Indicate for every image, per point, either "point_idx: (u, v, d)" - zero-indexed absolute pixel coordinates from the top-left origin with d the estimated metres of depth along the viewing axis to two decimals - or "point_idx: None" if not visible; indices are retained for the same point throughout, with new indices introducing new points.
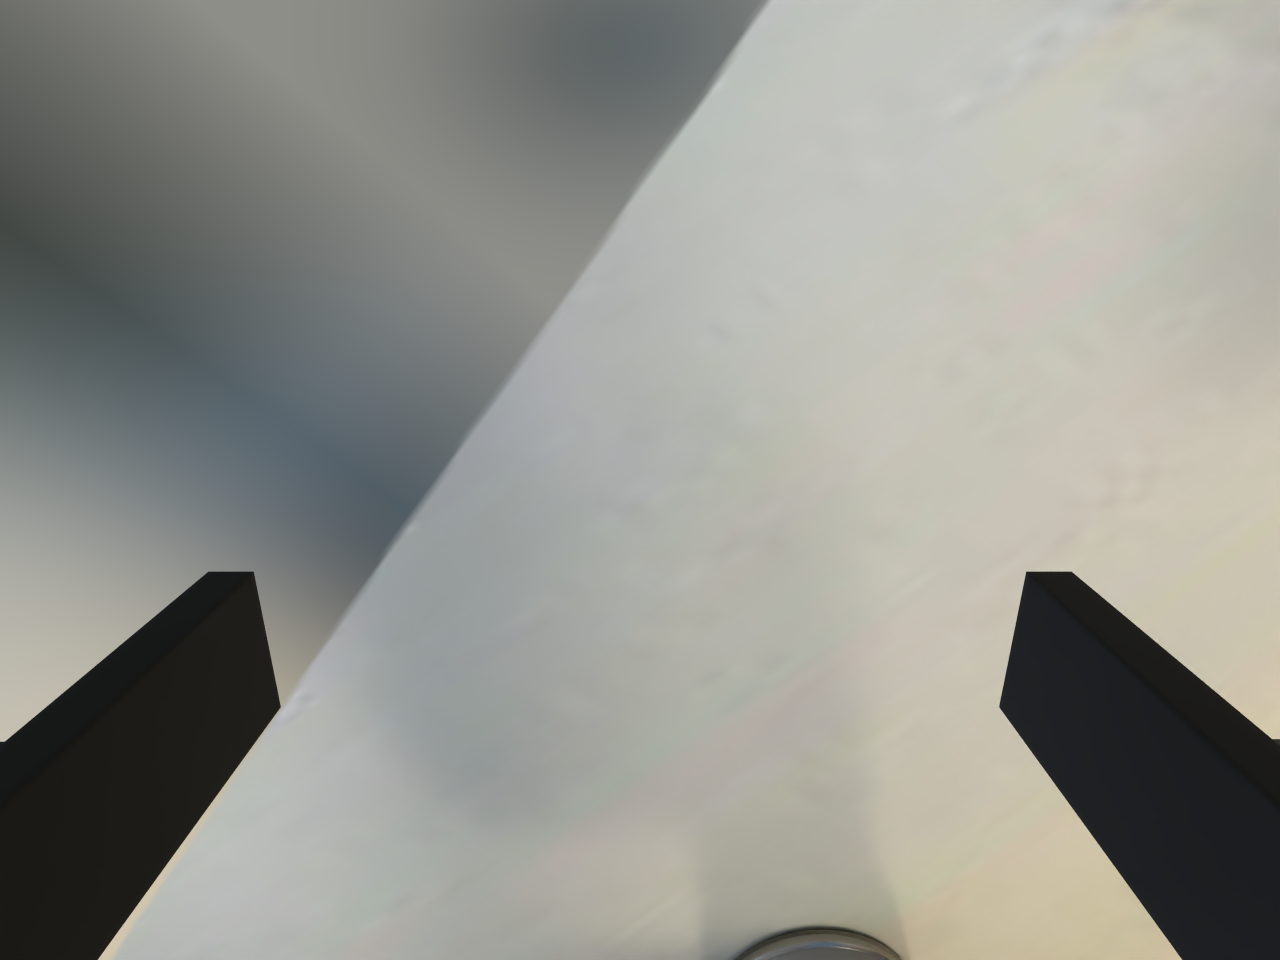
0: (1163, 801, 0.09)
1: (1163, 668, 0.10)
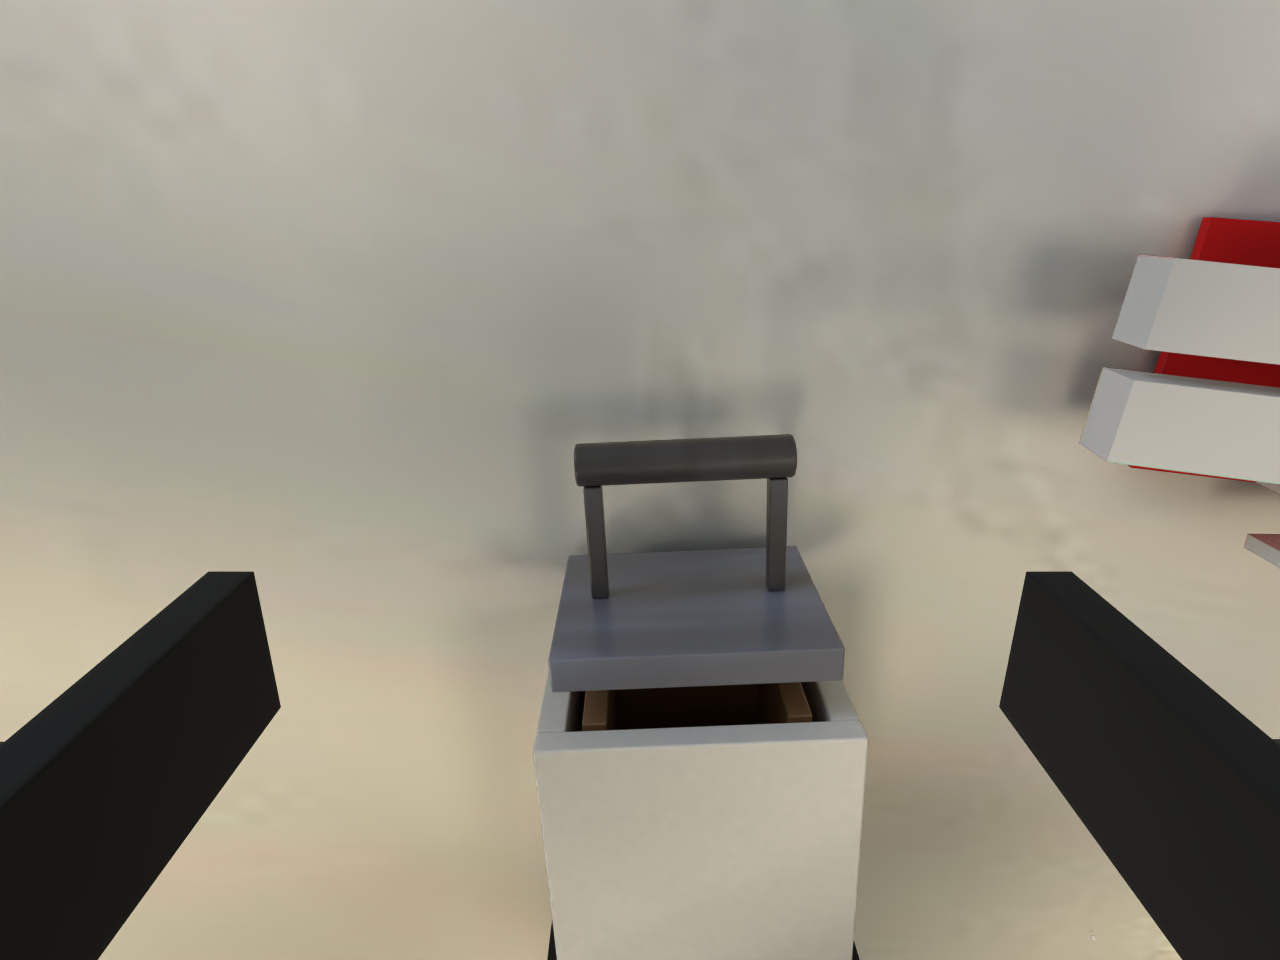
0: (1163, 801, 0.09)
1: (1163, 668, 0.10)
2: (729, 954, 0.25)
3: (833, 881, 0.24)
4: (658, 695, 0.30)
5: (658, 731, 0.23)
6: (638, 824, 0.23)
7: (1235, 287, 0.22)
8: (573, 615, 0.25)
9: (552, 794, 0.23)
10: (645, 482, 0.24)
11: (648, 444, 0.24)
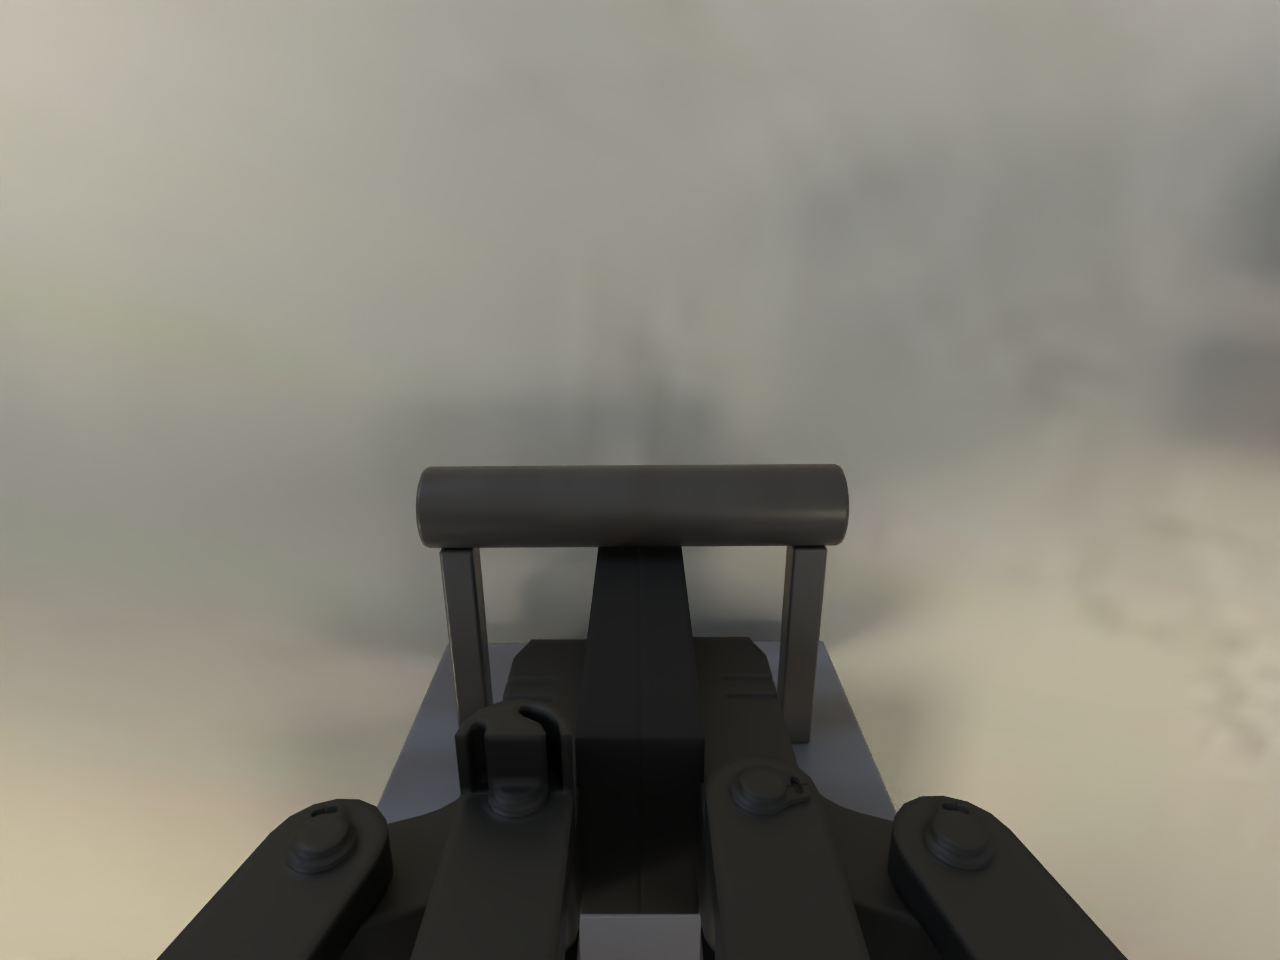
0: None
1: (667, 582, 0.12)
2: None
3: None
4: None
5: None
6: None
7: None
8: (415, 787, 0.13)
9: None
10: (556, 546, 0.13)
11: (563, 474, 0.12)
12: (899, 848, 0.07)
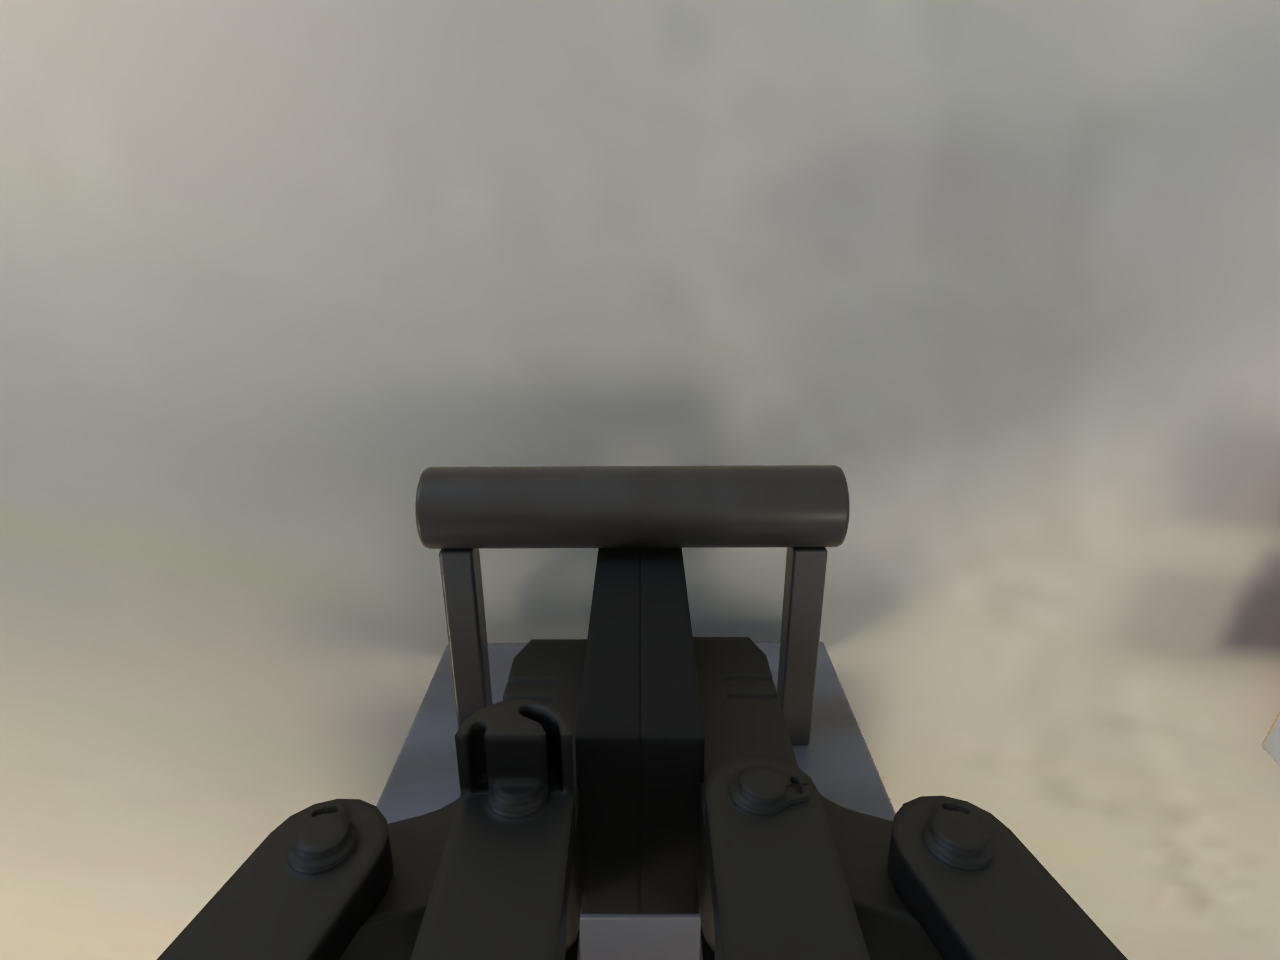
0: None
1: (667, 582, 0.12)
2: None
3: None
4: None
5: None
6: None
7: None
8: (413, 788, 0.13)
9: None
10: (555, 547, 0.13)
11: (562, 475, 0.12)
12: (899, 848, 0.07)
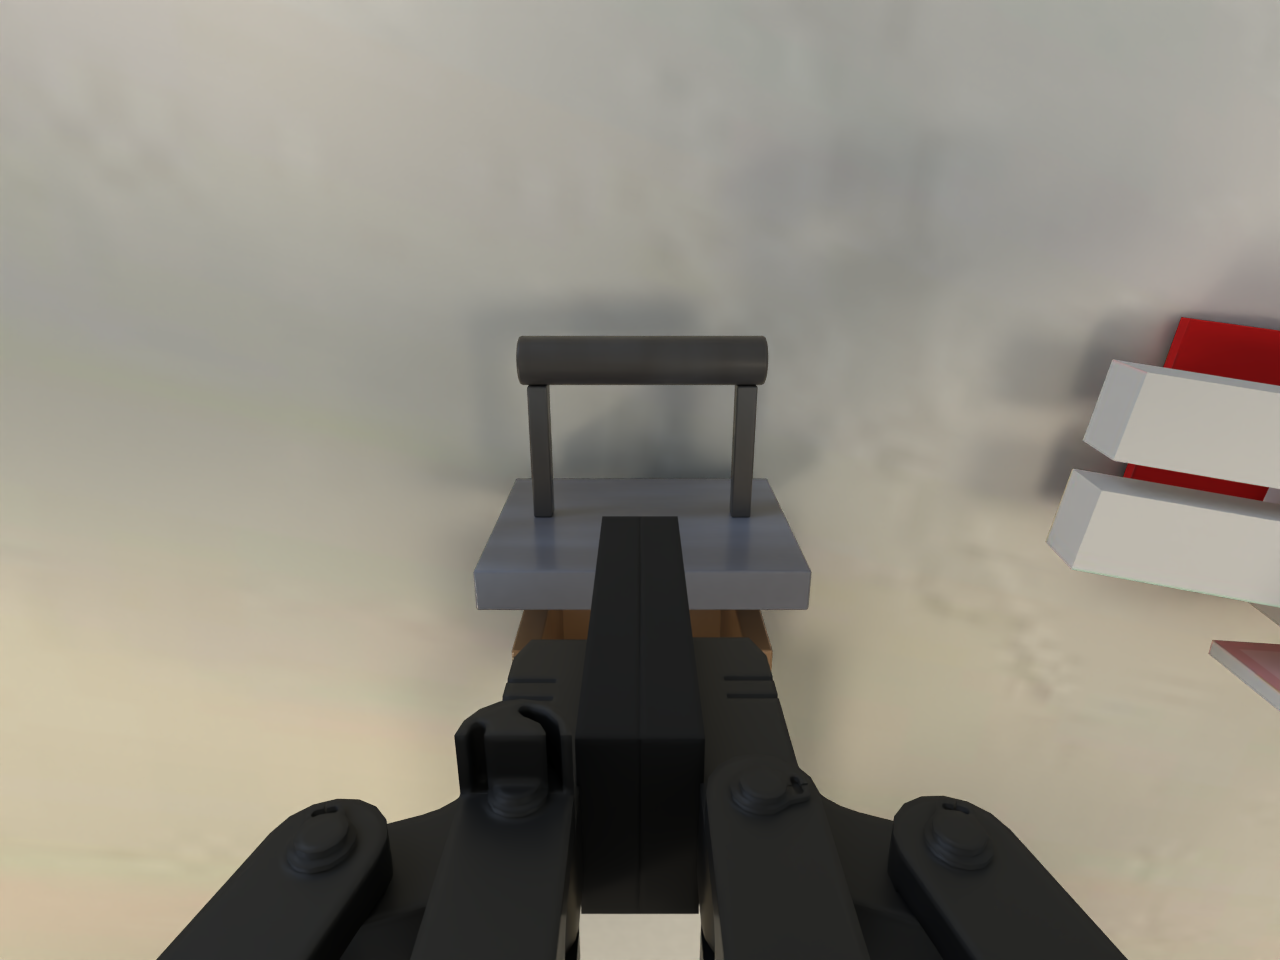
0: None
1: (667, 582, 0.12)
2: None
3: None
4: None
5: None
6: None
7: (1207, 405, 0.21)
8: (509, 532, 0.22)
9: None
10: (596, 382, 0.21)
11: (601, 338, 0.21)
12: (899, 848, 0.07)
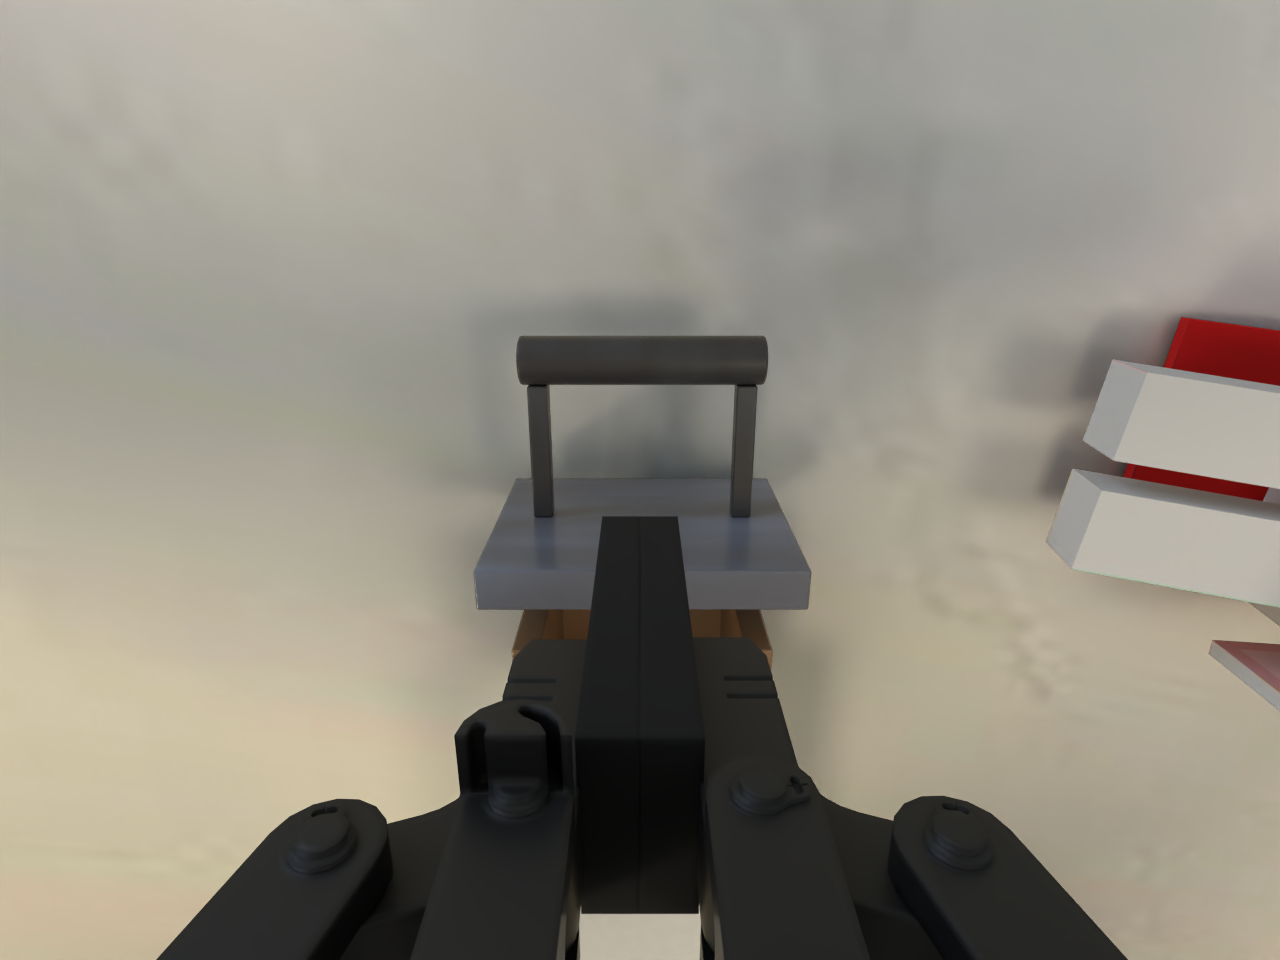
0: None
1: (667, 582, 0.12)
2: None
3: None
4: None
5: None
6: None
7: (1207, 405, 0.21)
8: (509, 531, 0.22)
9: None
10: (596, 382, 0.21)
11: (601, 338, 0.21)
12: (899, 848, 0.07)
